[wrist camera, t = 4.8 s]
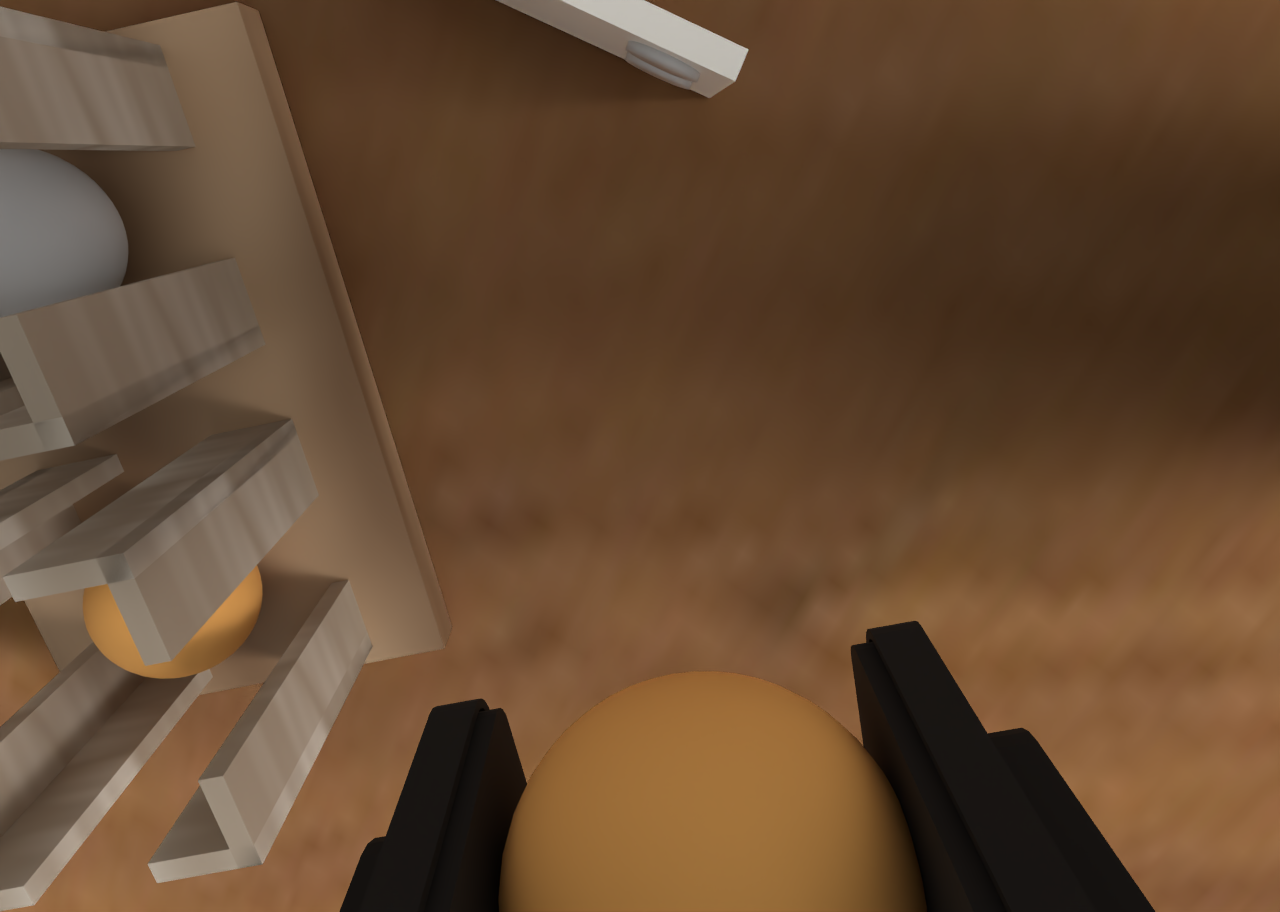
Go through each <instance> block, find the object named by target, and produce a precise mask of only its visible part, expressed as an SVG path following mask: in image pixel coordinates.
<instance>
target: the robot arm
mask: <svg viewBox="0 0 1280 912" xmlns="http://www.w3.org/2000/svg"><path fill="white" fill-rule="evenodd" d="M851 657H852V665H853V672H854V679H855V687H856V694H857V701H858V709H859V716H860V723H861V731H862V738H863V745H864V748H865V749H866V750H867V752H868V753H869V754H870V755H871V757H872V758H873V759H874V760H875V762H876V763H877V764H878V766H879V767H880V768H881V770H882V771H883V772H884V774H885V776H886V777H887V779H888V781H889V783H890V784H891V786H892V788H893V790H894V792H895V794H896V796H897V798H898V800H899V802H900V805H901V808H902V811H903V813H904V816H905V819H906V822H907V824H908V827H909V831H910V834H911V837H912V841H913V845H914V849H915V852H916V856H917V860H918V864H919V868H920V872H921V877H922V881H923V887H924V893H925V899H926V905H927V912H1155V910H1154V909H1153V907H1152V906H1151V905H1150V903H1149V902H1148V900H1147V899H1146V897H1145V896H1144V894H1143V893H1142V892H1141V890H1140V889H1139V887H1138V886H1137V884H1136V883H1135V882H1134V880H1133V879H1132V877H1131V876H1130V874H1129V873H1128V871H1127V870H1126V869H1125V867H1124V866H1123V864H1122V863H1121V861H1120V860H1119V858H1118V857H1117V856H1116V854H1115V853H1114V851H1113V850H1112V848H1111V847H1110V845H1109V844H1108V843H1107V841H1106V840H1105V838H1104V837H1103V835H1102V834H1101V832H1100V831H1099V830H1098V828H1097V827H1096V825H1095V824H1094V822H1093V821H1092V819H1091V818H1090V817H1089V815H1088V814H1087V812H1086V811H1085V809H1084V808H1083V806H1082V805H1081V804H1080V802H1079V801H1078V799H1077V798H1076V796H1075V795H1074V794H1073V792H1072V791H1071V789H1070V788H1069V786H1068V785H1067V783H1066V782H1065V781H1064V779H1063V778H1062V776H1061V775H1060V773H1059V772H1058V770H1057V769H1056V768H1055V766H1054V765H1053V763H1052V762H1051V760H1050V759H1049V757H1048V756H1047V755H1046V753H1045V752H1044V750H1043V749H1042V747H1041V746H1040V744H1039V743H1038V742H1037V740H1036V739H1035V738H1034V737H1033V736H1032V735H1031V733H1030V732H1029V731H1027V730H1025V729H1023V728H1017V729H1012V730H1006V731H1000V732H994V733H988V734H987V732H986V730H985V729H984V727H983V726H982V724H981V722H980V721H979V719H978V717H977V716H976V714H975V713H974V711H973V709H972V708H971V706H970V704H969V703H968V701H967V700H966V698H965V696H964V695H963V693H962V691H961V690H960V688H959V687H958V685H957V683H956V682H955V680H954V678H953V677H952V675H951V674H950V672H949V670H948V669H947V667H946V665H945V664H944V662H943V661H942V659H941V657H940V656H939V654H938V652H937V651H936V649H935V648H934V646H933V644H932V643H931V641H930V639H929V638H928V636H927V635H926V633H925V631H924V630H923V628H922V627H921V625H920V624H919V623H918V622H917V621H911V622H905V623H900V624H894V625H889V626H883V627H877V628H872V629H867V632H866V643H863V644H857V645H852V646H851ZM526 786H527V782H526V779H525V776H524V773H523V769H522V766H521V763H520V759H519V756H518V753H517V749H516V746H515V743H514V739H513V736H512V733H511V729H510V726H509V723H508V719H507V717H506V714H505V712H504V711H503V709H501V708H498V709H492V710H489V707H488V705H487V703H486V702H485V700H483V699H475V700H469V701H464V702H458V703H453V704H447V705H441V706H436V707H434V708H433V709H432V711H431V713H430V715H429V717H428V720H427V723H426V726H425V728H424V731H423V734H422V737H421V740H420V742H419V745H418V748H417V751H416V754H415V756H414V759H413V762H412V765H411V767H410V770H409V773H408V776H407V779H406V781H405V784H404V787H403V790H402V793H401V795H400V798H399V801H398V804H397V806H396V809H395V812H394V815H393V818H392V820H391V823H390V826H389V829H388V831H387V834H386V836H384V837H379V838H374V839H373V840H372V841H371V842H369V843H368V844H367V846H366V848H365V849H364V851H363V853H362V855H361V857H360V860H359V863H358V865H357V868H356V870H355V873H354V876H353V878H352V881H351V883H350V886H349V889H348V891H347V894H346V896H345V899H344V902H343V904H342V907H341V909H340V912H499V903H498V896H499V886H500V875H501V865H502V855H503V851H504V848H505V844H506V840H507V836H508V833H509V829H510V825H511V822H512V818H513V814H514V812H515V810H516V807H517V805H518V803H519V801H520V798H521V796H522V794H523V792H524V790H525V788H526Z"/></svg>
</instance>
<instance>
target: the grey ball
mask: <svg viewBox="0 0 1280 912" xmlns="http://www.w3.org/2000/svg"><path fill="white" fill-rule="evenodd" d="M127 263H128V240H127V235H126V231H125V227H124V224H123V221H122V219H121V217H120V215H119V213H118V211H117V209H116V207H115V206H114V204H113V202H112V201H111V200H110V198H109V197H108V196H107V194H106V193H105V192H104V191H103V190H102V189H101V188H100V187H99V185H98V184H97V183H96V182H95V181H94V180H92V179H91V178H90V177H89V176H88V175H87V174H85V173H84V172H82V171H81V170H80V169H78V168H77V167H75V166H74V165H72V164H70V163H68V162H67V161H65V160H63V159H61V158H59V157H57V156H54V155H52V154H49V153H47V152H44V151H41V150H37V149H0V317H4V316H8V315H12V314H16V313H20V312H23V311H27V310H31V309H35V308H39V307H43V306H47V305H50V304H54V303H58V302H62V301H66V300H70V299H74V298H77V297H81V296H85V295H89V294H93V293H97V292H100V291H104V290H108V289H112V288H116V287H120V285H121V284H122V281H123V279H124V276H125V273H126V268H127Z"/></svg>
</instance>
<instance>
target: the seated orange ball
mask: <svg viewBox="0 0 1280 912" xmlns="http://www.w3.org/2000/svg"><path fill="white" fill-rule="evenodd" d="M262 595H263V593H262V581H261V576H260V572H259V569H258V566H257V565H256V567H255V568H254V569H253V570H252V571H251V572H250V573H249V574H248V576H247V577H246V578H245V579H244V580H243V581H242V582H241V583H240V585H239V586H238V587H237V588H236V589H235V590H234V591H233V592H232V594H231V595H230V596H229V597H228V598H227V599H226V600H225V601H224V603H223V604H222V605H221V606H220V607H219V608H218V609H217V610H216V612H215V613H214V614H213V615H212V616H211V617H210V618H209V619H208V621H207V622H206V623H205V624H204V625H203V626H202V627H201V628H200V629H199V631H198V632H197V633H196V634H195V635H194V636H193V637H192V638H191V640H190V641H189V642H188V643H187V644H186V645H185V646H184V647H183V649H182V650H181V651H180V652H179V653H178V654H177V655H176V656H175V658H174V659H173V660H172V661H169V662H163V663H158V664H153V665H148V666H145V665H144V662H143V660H142V658H141V656H140V654H139V652H138V649H137V647H136V645H135V643H134V641H133V639H132V636H131V634H130V632H129V630H128V628H127V626H126V623H125V621H124V619H123V617H122V615H121V613H120V610H119V608H118V606H117V604H116V602H115V600H114V597H113V595H112V593H111V591H110V589H109V586H108V584H104V585H99V586H94V587H89V588H85V589H84V594H83V616H84V621H85V625H86V628H87V631H88V633H89V635H90V637H91V639H92V640H93V642H94V644H95V645H96V646H97V648H98V649H99V650H100V651H101V652H102V653H103V655H104V656H105V657H107V658H108V659H109V660H110V661H111V662H113V663H114V664H116V665H117V666H119V667H121V668H123V669H125V670H127V671H129V672H132V673H135V674H138V675H141V676H145V677H150V678H159V679H165V678H181V677H186V676H190V675H194V674H198V673H200V672H203V671H206V670H208V669H210V668H212V667H214V666H216V665H218V664H219V663H221V662H222V661H224V660H225V659H227V658H228V657H229V656H230V655H232V654H233V653H234V652H235V651H236V650H237V649H238V648H239V647H240V646H241V645H242V644H243V643H244V642H245V640H246V639H247V637H248V636H249V634H250V633H251V631H252V630H253V628H254V626H255V624H256V622H257V619H258V616H259V613H260V609H261V604H262Z"/></svg>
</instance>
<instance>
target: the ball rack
mask: <svg viewBox="0 0 1280 912" xmlns="http://www.w3.org/2000/svg"><path fill="white" fill-rule="evenodd" d="M0 149H37V150H41V151H44V152H47V153H49V154H52V155H54V156H57V157H59V158H61V159H63V160H65V161H67V162H68V163H70V164H72V165H74V166H75V167H77V168H78V169H80V170H81V171H82V172H84V173H85V174H87V175H88V176H89V177H90V178H91V179H92V180H94V181H95V182H96V183H97V184H98V185H99V187H100V188H101V189H102V190H103V191H104V192H105V193H106V194H107V196H108V197H109V198H110V200H111V201H112V202H113V204H114V206H115V207H116V209H117V211H118V213H119V215H120V217H121V219H122V221H123V224H124V227H125V231H126V235H127V240H128V263H127V268H126V273H125V276H124V279H123V281H122V284H121V285H120V287H116V288H112V289H108V290H104V291H100V292H97V293H93V294H89V295H85V296H81V297H77V298H74V299H70V300H66V301H62V302H58V303H54V304H50V305H47V306H43V307H39V308H35V309H31V310H27V311H23V312H20V313H16V314H12V315H8V316H4V317H0V605H1V604H3V603H4V602H6V601H7V600H8V599H10V598H11V597H13V599H14V601H15V602H18V601H23V600H24V601H25V603H26V605H27V607H28V609H29V611H30V613H31V615H32V617H33V619H34V621H35V623H36V625H37V627H38V629H39V631H40V633H41V635H42V637H43V639H44V641H45V643H46V645H47V647H48V649H49V651H50V653H51V655H52V657H53V659H54V661H55V663H56V665H57V667H58V669H59V671H60V673H59V674H57V675H56V676H55V677H54V678H53V679H52V680H51V681H50V682H49V683H48V684H47V685H46V686H44V687H43V688H42V689H41V690H40V691H39V692H38V693H37V694H36V695H35V696H34V697H32V698H31V699H30V700H29V701H28V702H27V703H26V704H25V705H24V706H23V707H22V708H21V709H19V710H18V711H17V712H16V713H15V714H14V715H13V716H12V717H11V718H10V719H9V720H8V721H6V722H5V723H4V724H3V725H2V726H1V727H0V911H4V910H10V909H15V908H21V907H26V906H32V905H35V904H36V902H37V901H38V900H39V898H40V897H41V896H42V895H43V893H44V892H45V891H46V889H47V888H48V887H49V886H50V884H51V883H52V882H53V881H54V879H55V878H56V877H57V875H58V874H59V873H60V872H61V870H62V869H63V868H64V866H65V865H66V864H67V863H68V861H69V860H70V859H71V858H72V856H73V855H74V854H75V852H76V851H77V850H78V849H79V847H80V846H81V845H82V843H83V842H84V841H85V840H86V838H87V837H88V836H89V835H90V833H91V832H92V831H93V829H94V828H95V827H96V826H97V824H98V823H99V822H100V820H101V819H102V818H103V817H104V815H105V814H106V813H107V812H108V810H109V809H110V808H111V806H112V805H113V804H114V803H115V801H116V800H117V799H118V797H119V796H120V795H121V794H122V792H123V791H124V790H125V789H126V787H127V786H128V785H129V783H130V782H131V781H132V780H133V778H134V777H135V776H136V774H137V773H138V772H139V771H140V769H141V768H142V767H143V766H144V764H145V763H146V762H147V760H148V759H149V758H150V757H151V755H152V754H153V753H154V751H155V750H156V749H157V748H158V746H159V745H160V744H161V743H162V741H163V740H164V739H165V737H166V736H167V735H168V734H169V732H170V731H171V730H172V728H173V727H174V726H175V725H176V723H177V722H178V721H179V720H180V718H181V717H182V716H183V714H184V713H185V712H186V711H187V709H188V708H189V707H190V705H191V704H192V703H193V702H194V700H195V699H196V698H197V697H198V695H202V694H207V693H212V692H217V691H223V690H228V689H233V688H239V687H244V686H249V685H254V684H260V683H264V684H263V685H262V687H261V688H260V690H259V691H258V693H257V694H256V696H255V697H254V699H253V700H252V701H251V703H250V704H249V706H248V707H247V709H246V710H245V712H244V713H243V715H242V716H241V718H240V719H239V721H238V722H237V724H236V725H235V727H234V728H233V730H232V731H231V733H230V734H229V735H228V737H227V738H226V740H225V741H224V743H223V744H222V746H221V747H220V749H219V750H218V752H217V753H216V755H215V756H214V758H213V759H212V761H211V762H210V764H209V765H208V767H207V768H206V769H205V771H204V772H203V774H202V775H201V777H200V778H199V780H198V782H199V784H200V786H199V788H198V789H197V791H196V792H195V794H194V795H193V797H192V798H191V800H190V801H189V803H188V804H187V806H186V807H185V809H184V810H183V812H182V813H181V815H180V816H179V818H178V819H177V821H176V822H175V824H174V825H173V827H172V828H171V830H170V831H169V833H168V834H167V836H166V837H165V839H164V840H163V842H162V843H161V845H160V846H159V848H158V849H157V851H156V852H155V854H154V855H153V857H152V858H151V860H150V861H149V863H148V866H149V868H150V870H151V872H152V874H153V876H154V878H155V880H156V882H157V883H161V882H166V881H172V880H177V879H183V878H188V877H194V876H200V875H205V874H211V873H216V872H222V871H228V870H233V869H239V868H244V867H250V866H256V865H261V864H263V862H264V860H265V858H266V856H267V855H268V853H269V851H270V849H271V847H272V845H273V843H274V841H275V839H276V837H277V835H278V833H279V831H280V829H281V827H282V825H283V823H284V821H285V819H286V817H287V815H288V813H289V811H290V809H291V807H292V805H293V803H294V801H295V799H296V797H297V795H298V793H299V791H300V789H301V787H302V785H303V783H304V781H305V779H306V777H307V775H308V773H309V771H310V769H311V767H312V765H313V763H314V761H315V759H316V758H317V756H318V754H319V752H320V750H321V748H322V746H323V744H324V742H325V740H326V738H327V736H328V734H329V732H330V730H331V728H332V726H333V724H334V722H335V720H336V718H337V716H338V714H339V712H340V710H341V708H342V706H343V704H344V702H345V700H346V698H347V696H348V694H349V692H350V690H351V688H352V686H353V684H354V682H355V680H356V678H357V676H358V674H359V672H360V670H361V668H362V666H363V664H366V663H371V662H376V661H382V660H387V659H392V658H397V657H403V656H408V655H413V654H419V653H424V652H429V651H435V650H440V649H445V646H446V643H447V641H448V638H449V635H450V632H451V629H452V624H451V621H450V618H449V615H448V612H447V608H446V605H445V602H444V599H443V596H442V592H441V589H440V586H439V583H438V580H437V577H436V573H435V570H434V567H433V564H432V561H431V557H430V554H429V551H428V548H427V545H426V542H425V538H424V535H423V532H422V529H421V526H420V522H419V519H418V516H417V513H416V510H415V507H414V503H413V500H412V497H411V494H410V491H409V488H408V484H407V481H406V478H405V475H404V472H403V468H402V465H401V462H400V459H399V456H398V453H397V449H396V446H395V443H394V440H393V437H392V433H391V430H390V427H389V424H388V421H387V418H386V414H385V411H384V408H383V405H382V402H381V398H380V395H379V392H378V389H377V386H376V383H375V379H374V376H373V373H372V370H371V367H370V364H369V360H368V357H367V354H366V351H365V348H364V344H363V341H362V338H361V335H360V332H359V329H358V325H357V322H356V319H355V316H354V313H353V309H352V306H351V303H350V300H349V297H348V294H347V290H346V287H345V284H344V281H343V278H342V274H341V271H340V268H339V265H338V262H337V259H336V255H335V252H334V249H333V246H332V243H331V240H330V236H329V233H328V230H327V227H326V224H325V220H324V217H323V214H322V211H321V208H320V205H319V201H318V198H317V195H316V192H315V189H314V185H313V182H312V179H311V176H310V173H309V170H308V166H307V163H306V160H305V157H304V154H303V150H302V147H301V144H300V141H299V138H298V135H297V131H296V128H295V125H294V122H293V119H292V116H291V112H290V109H289V106H288V103H287V100H286V96H285V93H284V90H283V87H282V84H281V81H280V77H279V74H278V71H277V68H276V65H275V61H274V58H273V55H272V52H271V49H270V46H269V42H268V39H267V36H266V33H265V30H264V26H263V23H262V20H261V17H260V14H259V11H258V10H256V9H254V8H251V7H249V6H246V5H244V4H241V3H239V2H233V3H229V4H225V5H220V6H216V7H211V8H207V9H202V10H198V11H194V12H189V13H185V14H180V15H176V16H172V17H167V18H163V19H158V20H154V21H149V22H145V23H141V24H136V25H132V26H127V27H123V28H119V29H114V30H110V31H105V32H103V31H99V30H95V29H91V28H87V27H83V26H79V25H74V24H70V23H66V22H62V21H58V20H54V19H50V18H46V17H41V16H37V15H33V14H29V13H25V12H21V11H17V10H13V9H8V8H4V7H0ZM256 565H257V566H258V569H259V572H260V576H261V581H262V593H263V595H262V604H261V609H260V613H259V616H258V619H257V622H256V624H255V626H254V628H253V630H252V631H251V633H250V634H249V636H248V637H247V639H246V640H245V642H244V643H243V644H242V645H241V646H240V647H239V648H238V649H237V650H236V651H235V652H234V653H233V654H232V655H230V656H229V657H228V658H227V659H225V660H224V661H222V662H221V663H219V664H218V665H216V666H214V667H212V668H210V669H208V670H206V671H203V672H200V673H198V674H194V675H190V676H186V677H181V678H165V679H159V678H150V677H145V676H141V675H138V674H135V673H132V672H129V671H127V670H125V669H123V668H121V667H119V666H117V665H116V664H114V663H113V662H111V661H110V660H109V659H108V658H107V657H105V656H104V655H103V653H102V652H101V651H100V650H99V649H98V648H97V646H96V645H95V644H94V642H93V640H92V639H91V637H90V635H89V633H88V631H87V628H86V625H85V621H84V616H83V594H84V589H85V588H89V587H94V586H99V585H104V584H108V586H109V589H110V591H111V593H112V595H113V597H114V600H115V602H116V604H117V606H118V608H119V610H120V613H121V615H122V617H123V619H124V621H125V623H126V626H127V628H128V630H129V632H130V634H131V636H132V639H133V641H134V643H135V645H136V647H137V649H138V652H139V654H140V656H141V658H142V660H143V662H144V665H145V666H148V665H153V664H158V663H163V662H169V661H172V660H173V659H174V658H175V656H176V655H177V654H178V653H179V652H180V651H181V650H182V649H183V647H184V646H185V645H186V644H187V643H188V642H189V641H190V640H191V638H192V637H193V636H194V635H195V634H196V633H197V632H198V631H199V629H200V628H201V627H202V626H203V625H204V624H205V623H206V622H207V621H208V619H209V618H210V617H211V616H212V615H213V614H214V613H215V612H216V610H217V609H218V608H219V607H220V606H221V605H222V604H223V603H224V601H225V600H226V599H227V598H228V597H229V596H230V595H231V594H232V592H233V591H234V590H235V589H236V588H237V587H238V586H239V585H240V583H241V582H242V581H243V580H244V579H245V578H246V577H247V576H248V574H249V573H250V572H251V571H252V570H253V569H254V568H255V567H256Z"/></svg>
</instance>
